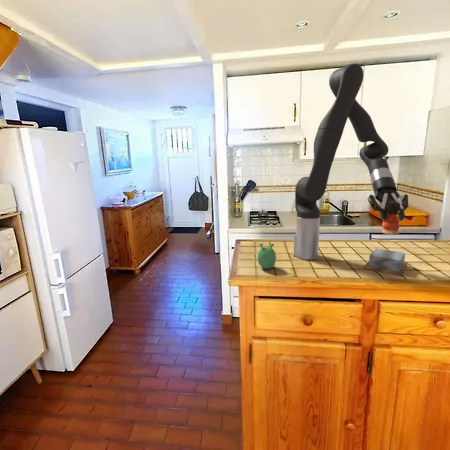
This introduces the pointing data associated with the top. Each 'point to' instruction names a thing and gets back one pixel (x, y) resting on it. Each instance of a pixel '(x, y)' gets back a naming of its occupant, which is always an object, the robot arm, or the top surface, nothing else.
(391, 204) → the figurine
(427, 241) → the top surface
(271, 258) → the alien toy
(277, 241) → the top surface
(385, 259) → the pedestal
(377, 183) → the robot arm
